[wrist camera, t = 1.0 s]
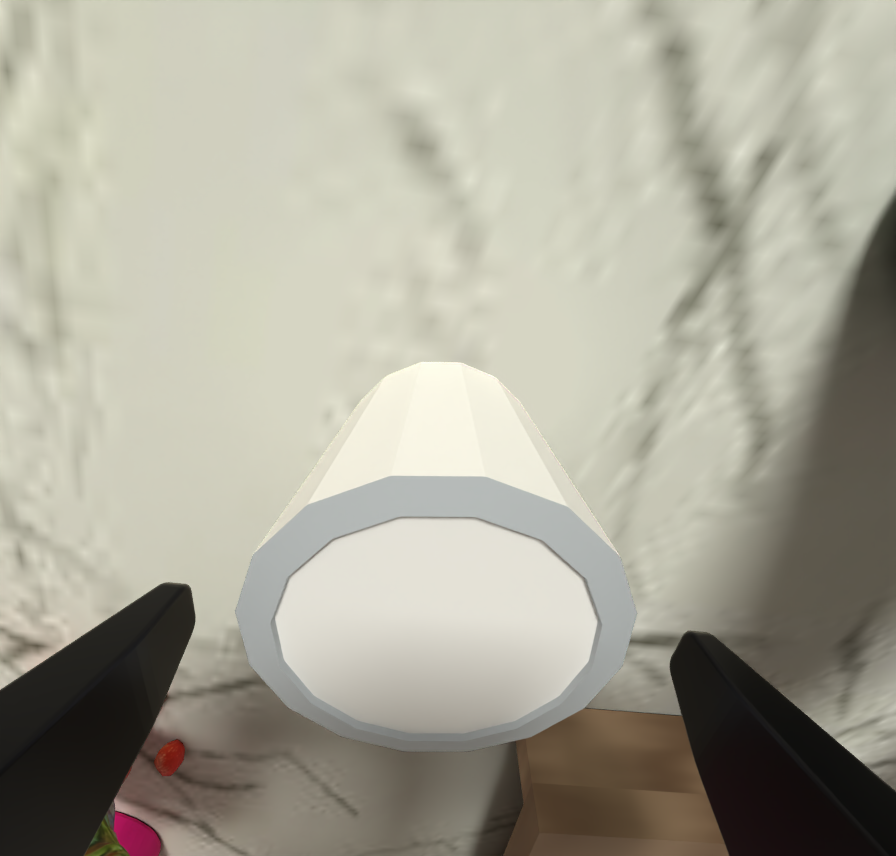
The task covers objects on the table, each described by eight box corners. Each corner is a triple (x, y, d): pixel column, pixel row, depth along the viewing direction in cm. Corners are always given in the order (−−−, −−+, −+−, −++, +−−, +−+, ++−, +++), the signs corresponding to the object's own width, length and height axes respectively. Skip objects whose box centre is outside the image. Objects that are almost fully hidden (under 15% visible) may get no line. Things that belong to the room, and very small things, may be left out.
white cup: (583, 365, 13) (713, 522, 7) (516, 550, 16) (563, 776, 10) (340, 315, 12) (232, 437, 6) (318, 517, 15) (231, 739, 9)
